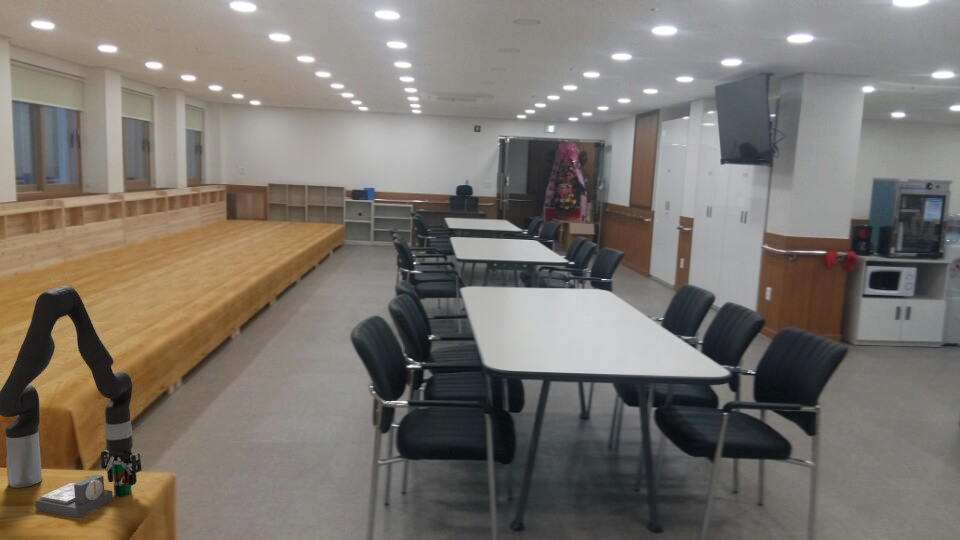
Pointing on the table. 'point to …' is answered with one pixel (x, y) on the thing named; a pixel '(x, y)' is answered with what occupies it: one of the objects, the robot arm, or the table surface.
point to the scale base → (80, 498)
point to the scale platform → (61, 495)
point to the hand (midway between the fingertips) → (122, 483)
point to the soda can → (120, 479)
